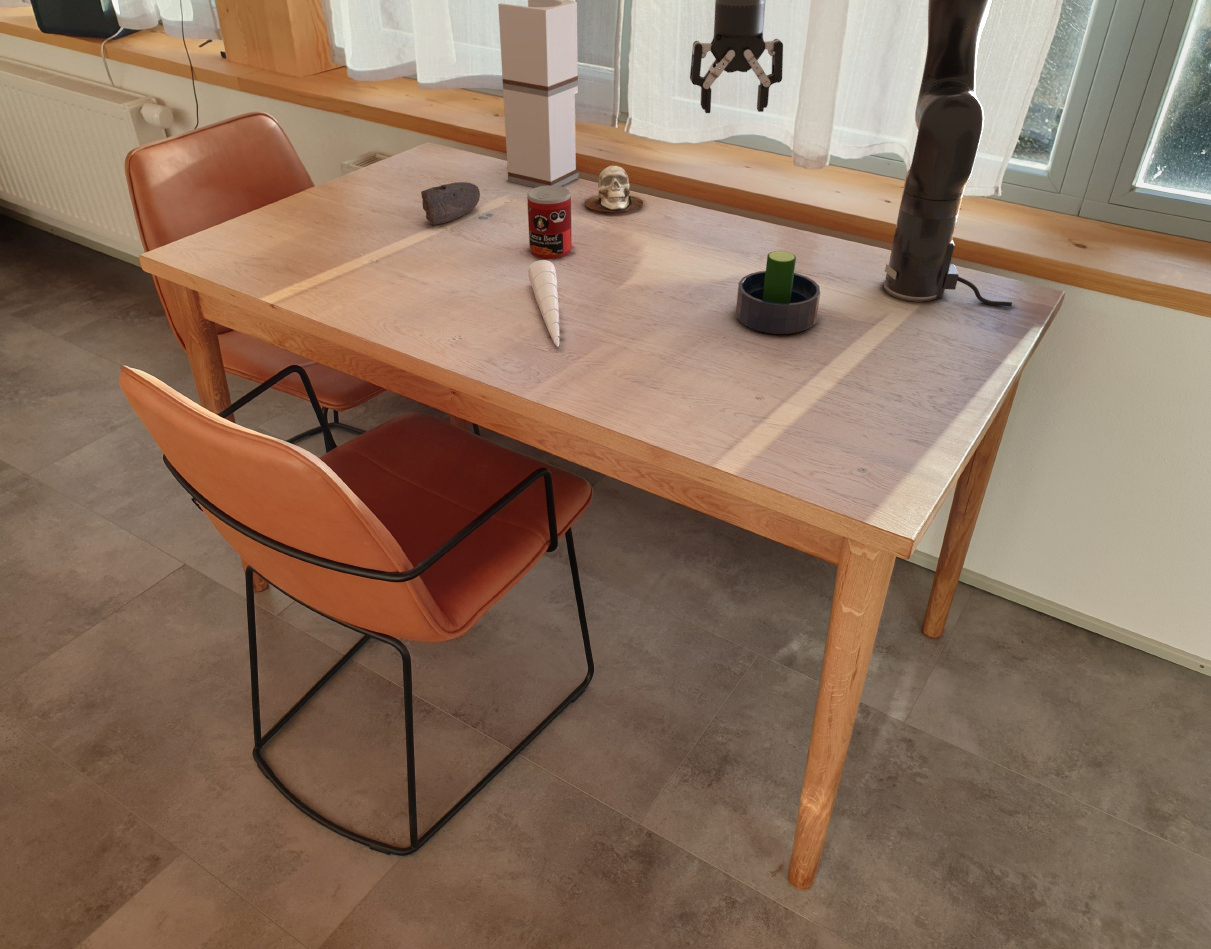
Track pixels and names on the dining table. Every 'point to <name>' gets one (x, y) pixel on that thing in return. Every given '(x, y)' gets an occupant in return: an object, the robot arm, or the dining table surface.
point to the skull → (613, 192)
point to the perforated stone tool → (449, 201)
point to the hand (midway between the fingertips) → (733, 111)
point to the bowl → (777, 305)
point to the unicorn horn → (546, 295)
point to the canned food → (549, 221)
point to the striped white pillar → (540, 90)
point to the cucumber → (779, 277)
